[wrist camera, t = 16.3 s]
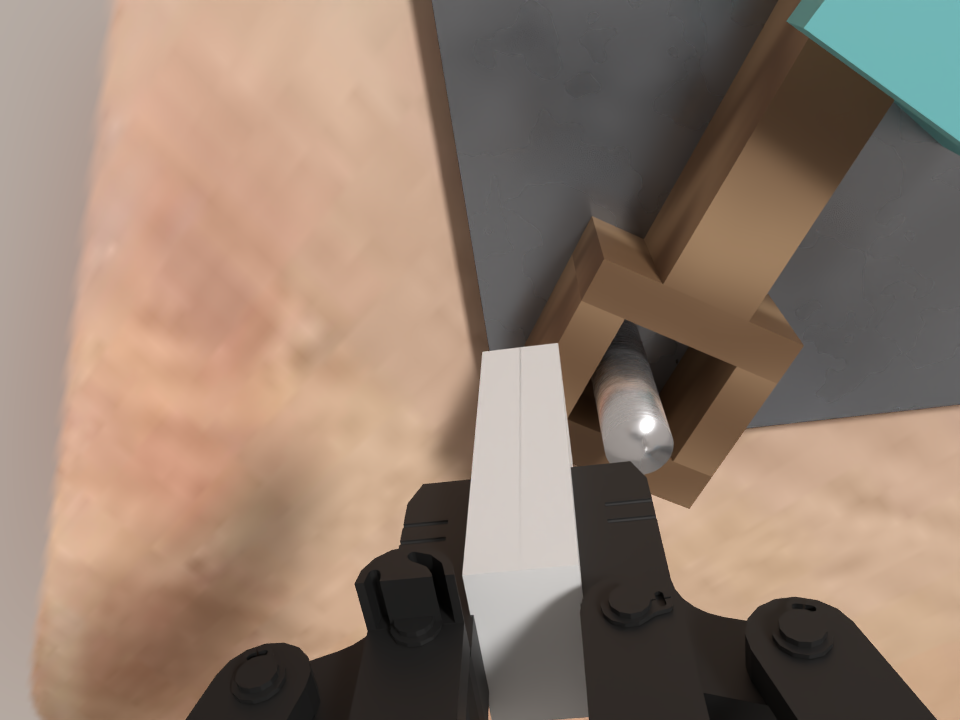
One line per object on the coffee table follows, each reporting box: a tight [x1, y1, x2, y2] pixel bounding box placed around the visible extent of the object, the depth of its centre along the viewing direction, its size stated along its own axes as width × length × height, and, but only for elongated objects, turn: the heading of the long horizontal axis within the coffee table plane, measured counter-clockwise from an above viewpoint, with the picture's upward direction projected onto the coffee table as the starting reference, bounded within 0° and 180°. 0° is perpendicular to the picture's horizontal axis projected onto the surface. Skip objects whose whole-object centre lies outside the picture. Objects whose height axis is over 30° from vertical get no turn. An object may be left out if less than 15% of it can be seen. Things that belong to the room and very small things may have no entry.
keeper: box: [786, 0, 960, 156], centre depth 23 cm, size 4×9×8 cm, turn 59°
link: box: [524, 0, 894, 509], centre depth 27 cm, size 18×7×4 cm, turn 156°
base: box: [432, 0, 960, 474], centre depth 25 cm, size 19×19×8 cm
